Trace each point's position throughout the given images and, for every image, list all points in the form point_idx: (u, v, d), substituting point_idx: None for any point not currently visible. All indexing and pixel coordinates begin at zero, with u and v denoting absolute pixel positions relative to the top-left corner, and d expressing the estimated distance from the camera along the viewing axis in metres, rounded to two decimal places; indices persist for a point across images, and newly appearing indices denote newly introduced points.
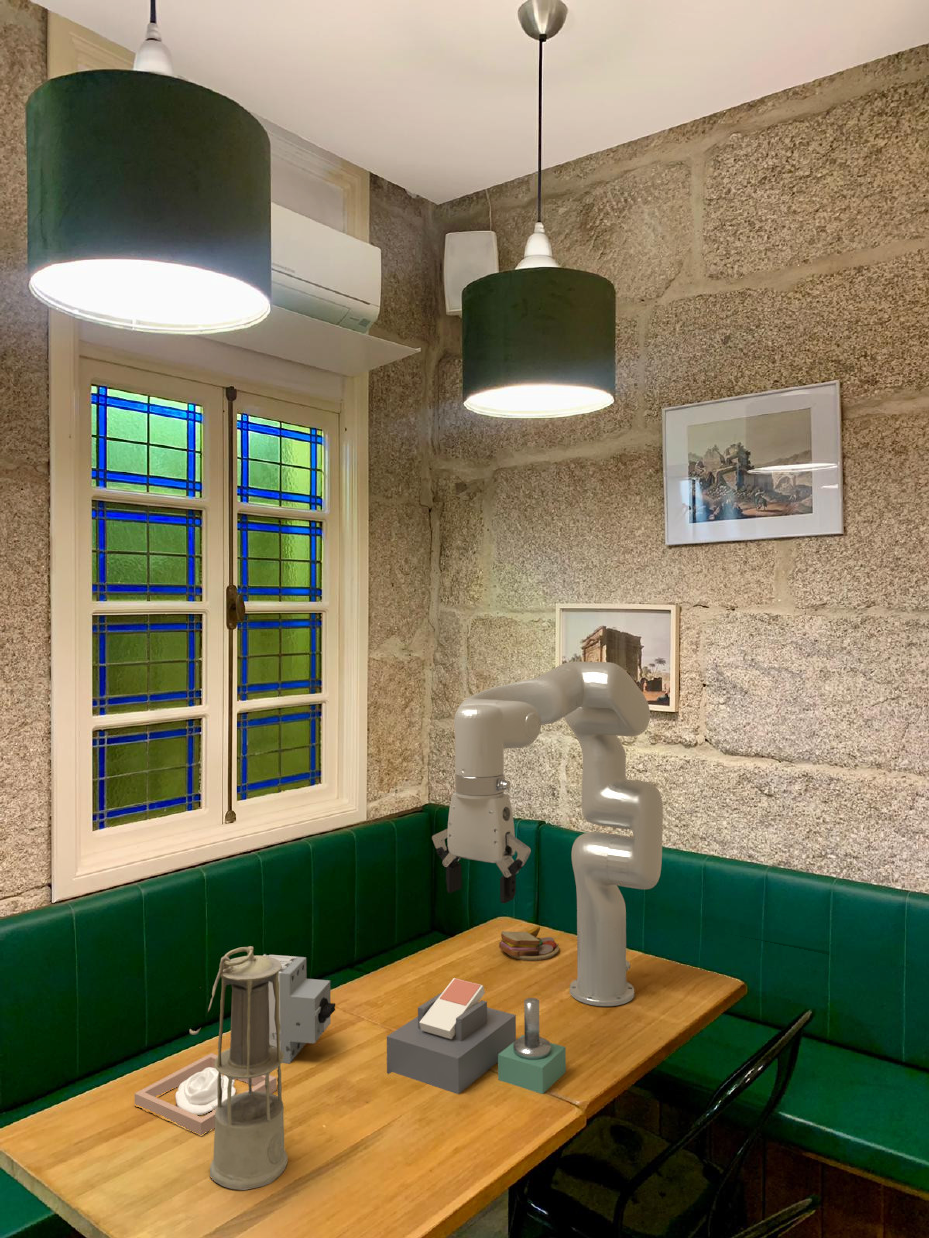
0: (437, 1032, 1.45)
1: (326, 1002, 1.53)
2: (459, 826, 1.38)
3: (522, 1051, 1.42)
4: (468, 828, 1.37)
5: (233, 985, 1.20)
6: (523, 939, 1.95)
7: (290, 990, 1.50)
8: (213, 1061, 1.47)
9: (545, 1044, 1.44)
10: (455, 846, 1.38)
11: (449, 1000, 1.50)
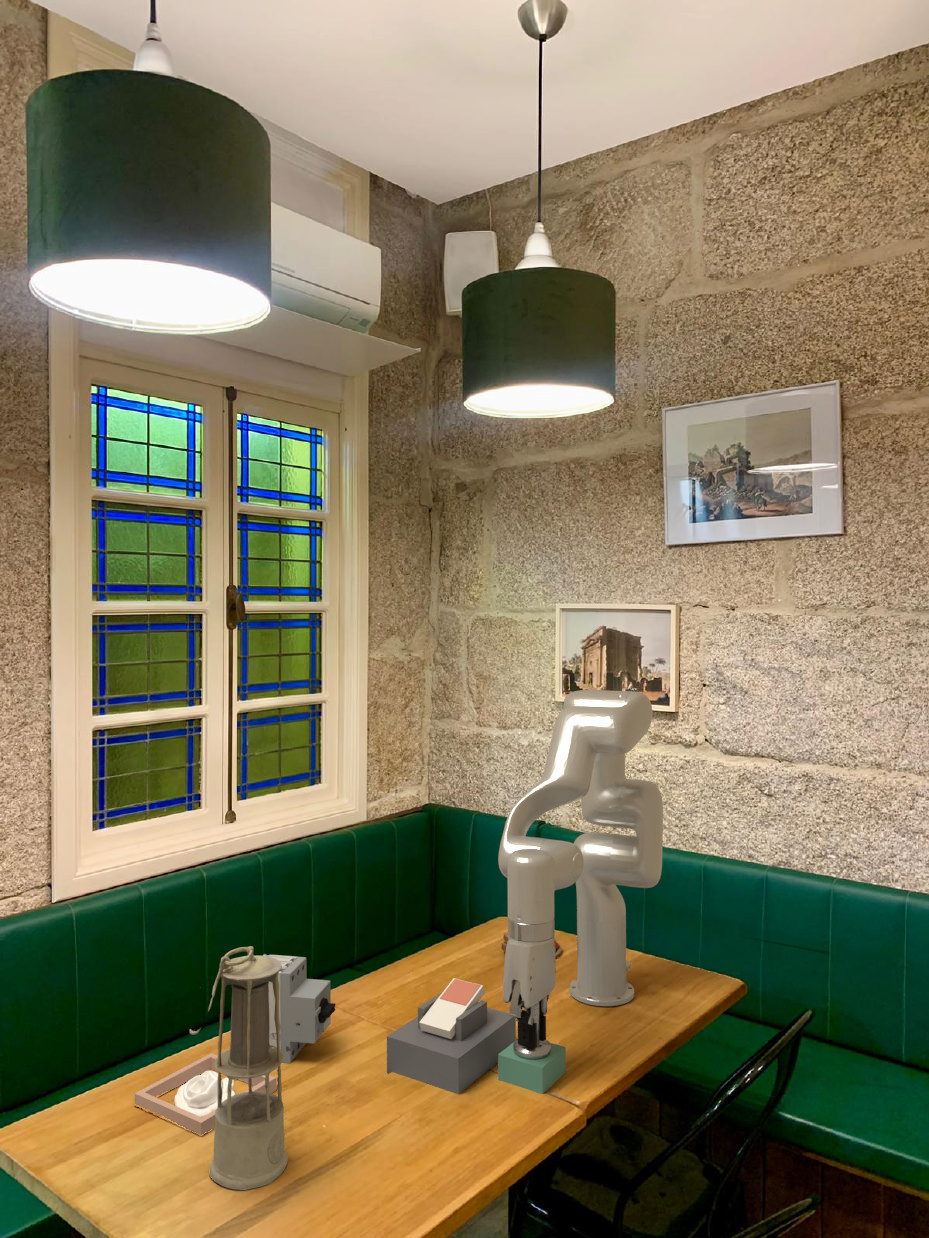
0: (437, 1032, 1.45)
1: (326, 1002, 1.53)
2: (538, 974, 1.41)
3: (522, 1051, 1.42)
4: (543, 971, 1.42)
5: (233, 985, 1.20)
6: None
7: (290, 990, 1.50)
8: (213, 1061, 1.47)
9: (545, 1044, 1.44)
10: (534, 996, 1.40)
11: (449, 1000, 1.50)
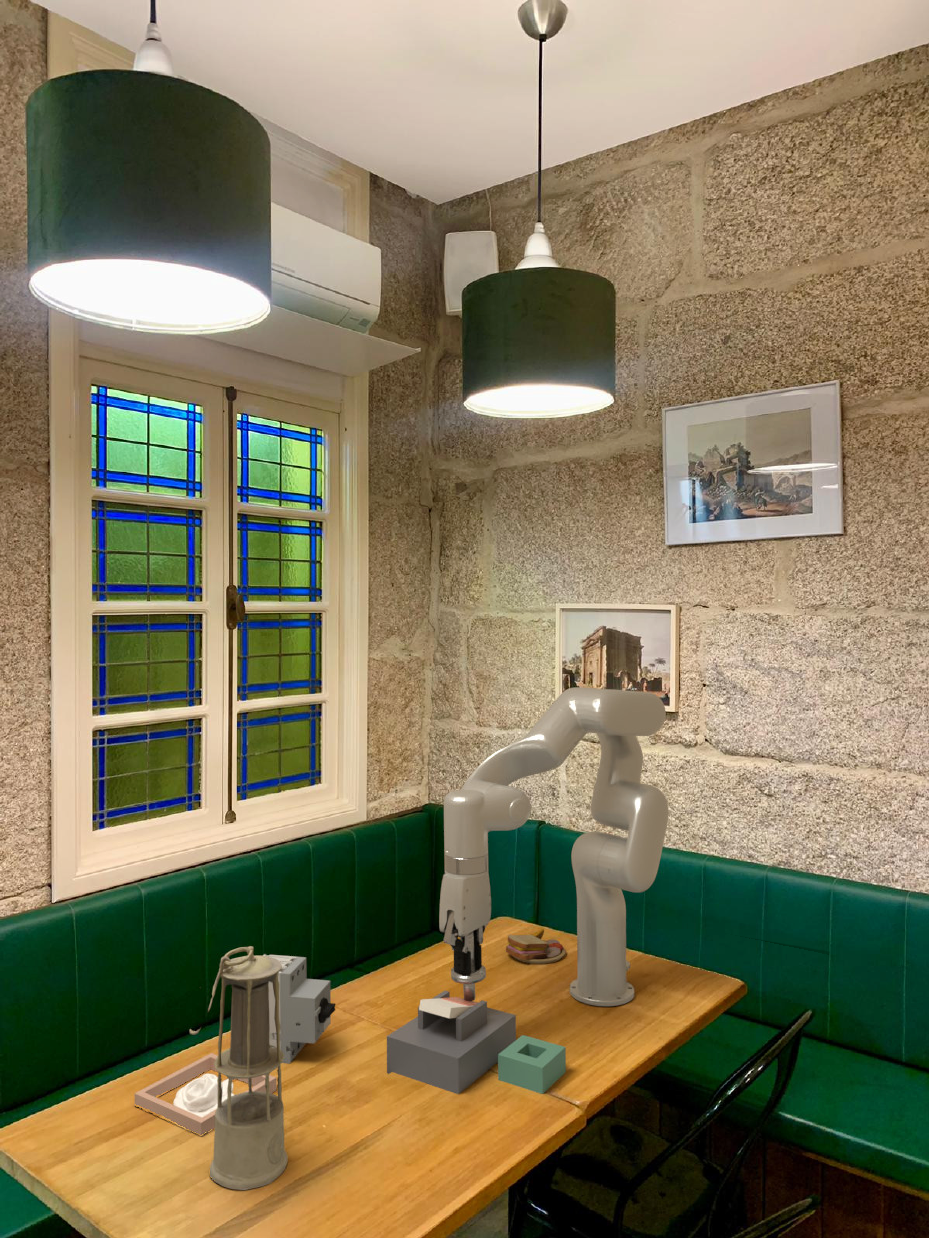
0: (436, 1010, 1.45)
1: (326, 1002, 1.53)
2: (471, 905, 1.51)
3: (458, 976, 1.52)
4: (477, 902, 1.52)
5: (233, 985, 1.20)
6: (532, 942, 1.93)
7: (290, 990, 1.50)
8: (213, 1061, 1.47)
9: (480, 969, 1.54)
10: (467, 925, 1.50)
11: (452, 1000, 1.51)
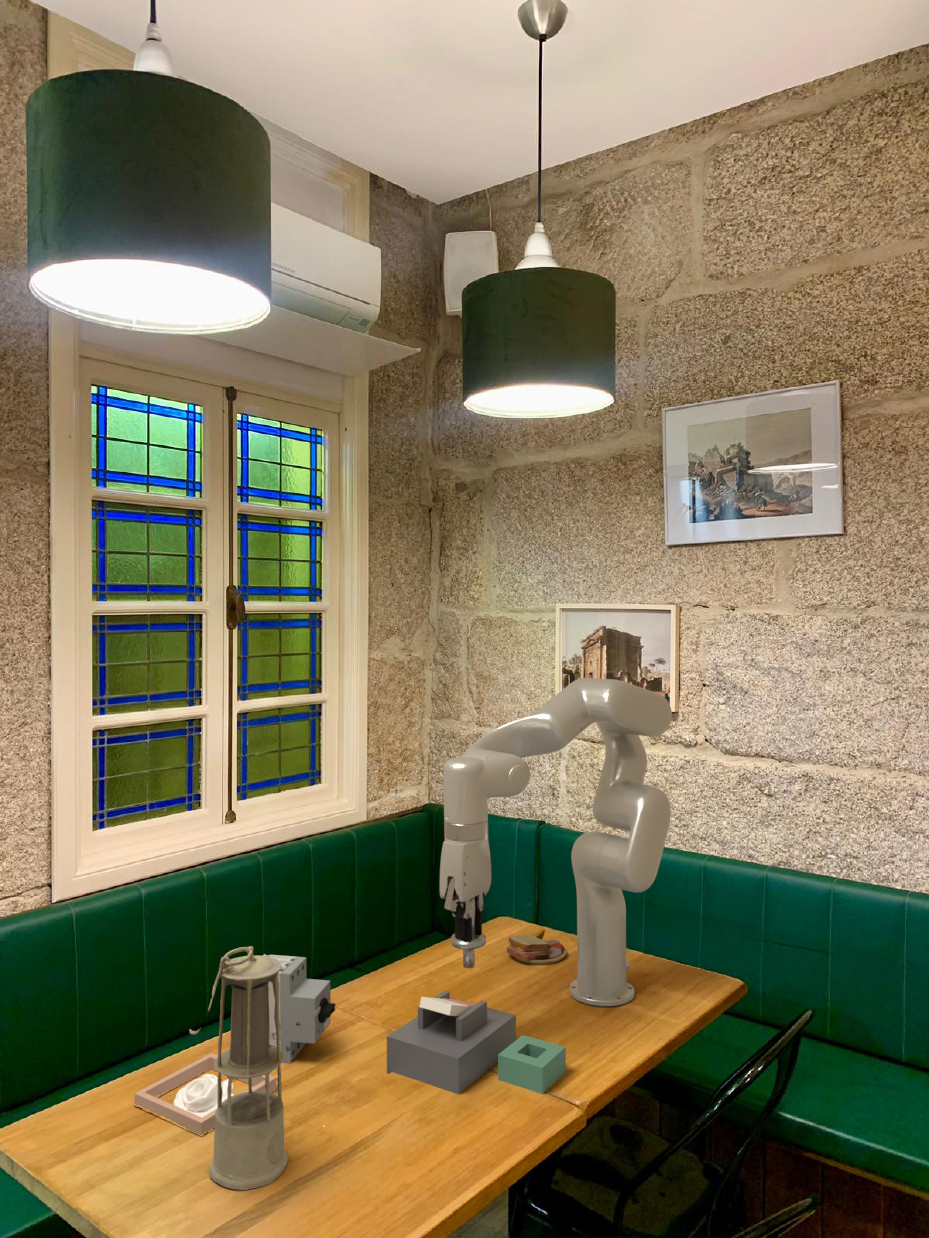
0: (436, 1008, 1.45)
1: (326, 1002, 1.53)
2: (471, 871, 1.50)
3: (458, 942, 1.52)
4: (477, 869, 1.52)
5: (233, 985, 1.20)
6: (533, 943, 1.93)
7: (290, 990, 1.50)
8: (213, 1061, 1.47)
9: (481, 936, 1.54)
10: (468, 891, 1.50)
11: (452, 1000, 1.51)
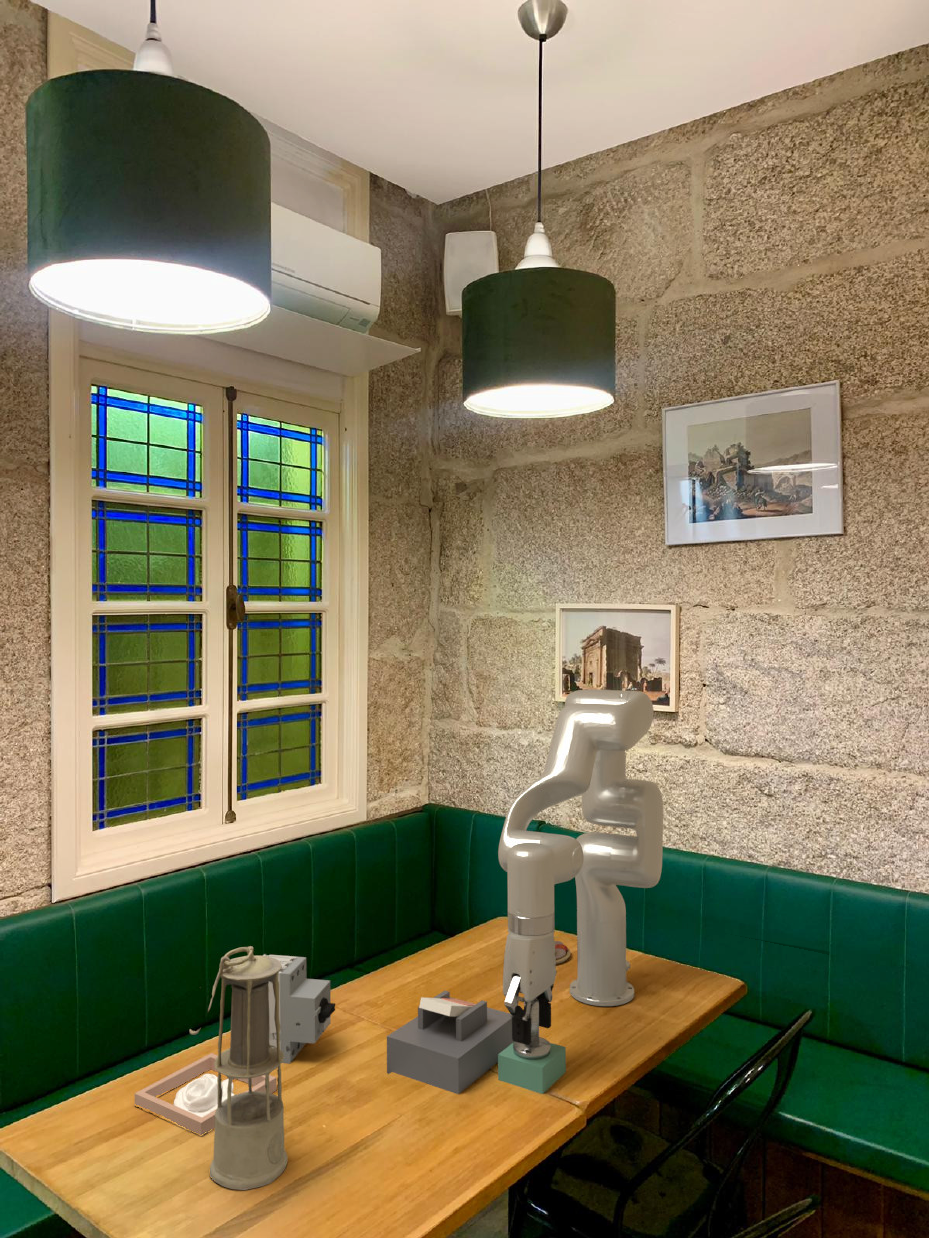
0: (436, 1008, 1.45)
1: (326, 1002, 1.53)
2: (537, 967, 1.41)
3: (522, 1051, 1.42)
4: (543, 965, 1.42)
5: (233, 985, 1.20)
6: None
7: (290, 990, 1.50)
8: (213, 1061, 1.47)
9: (545, 1044, 1.44)
10: (534, 990, 1.40)
11: (452, 1000, 1.51)
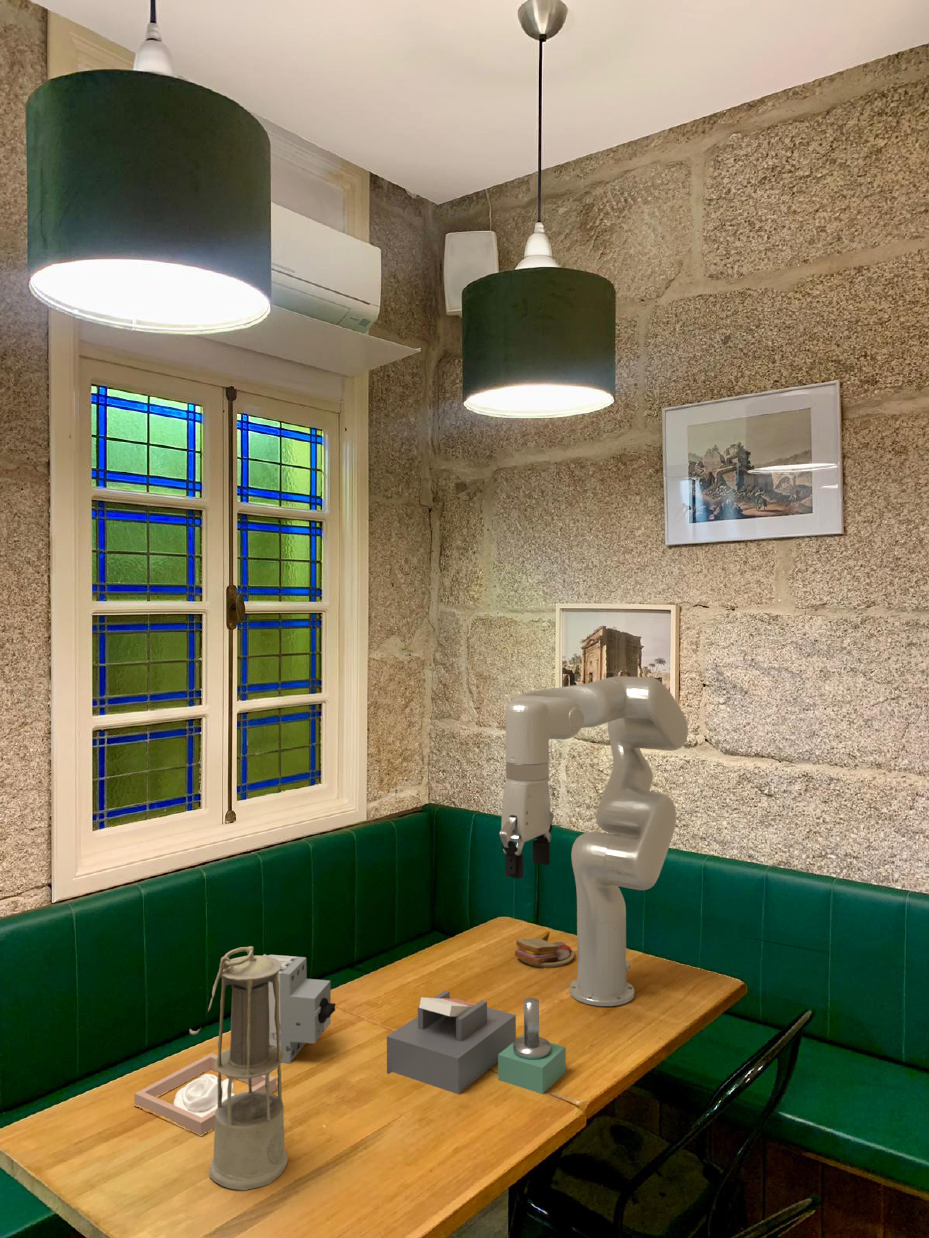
0: (436, 1008, 1.45)
1: (326, 1002, 1.53)
2: (533, 811, 1.52)
3: (522, 1051, 1.42)
4: (539, 810, 1.54)
5: (233, 985, 1.20)
6: (543, 946, 1.91)
7: (290, 990, 1.50)
8: (213, 1061, 1.47)
9: (545, 1044, 1.44)
10: (530, 831, 1.52)
11: (452, 1000, 1.51)
